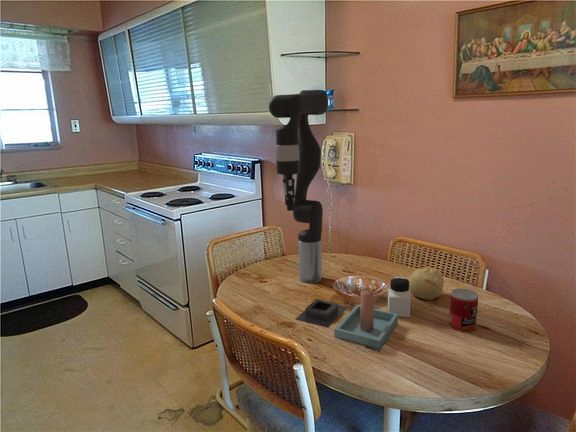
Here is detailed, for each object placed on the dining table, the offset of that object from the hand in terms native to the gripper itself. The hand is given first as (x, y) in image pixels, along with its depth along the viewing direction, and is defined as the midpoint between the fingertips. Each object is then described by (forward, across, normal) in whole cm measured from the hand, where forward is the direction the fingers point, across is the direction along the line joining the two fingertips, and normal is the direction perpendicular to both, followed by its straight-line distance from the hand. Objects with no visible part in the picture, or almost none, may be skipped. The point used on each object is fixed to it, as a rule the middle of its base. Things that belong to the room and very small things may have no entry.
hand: (289, 207), depth 137 cm
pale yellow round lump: (+36, +2, -49) cm, 61 cm away
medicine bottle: (+36, -9, -35) cm, 51 cm away
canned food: (+36, -20, -52) cm, 66 cm away
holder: (+36, -8, -9) cm, 38 cm away
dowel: (+35, -20, -21) cm, 46 cm away
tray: (+36, -20, -21) cm, 46 cm away
